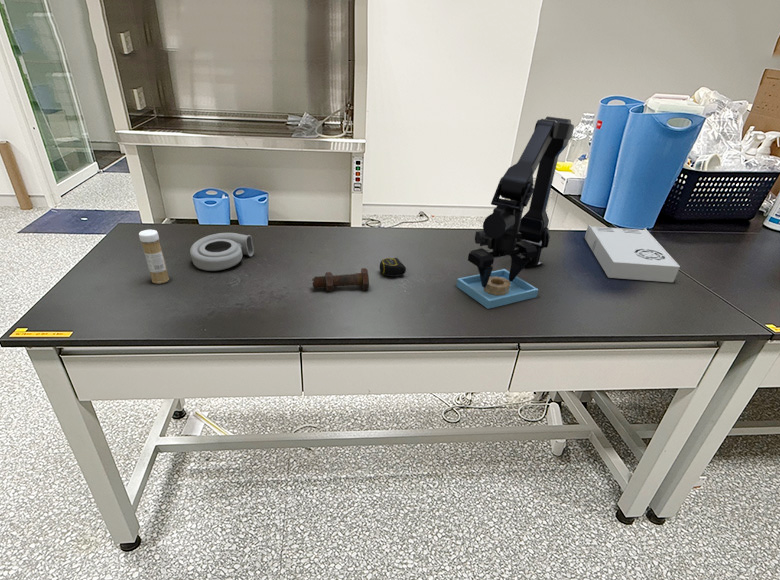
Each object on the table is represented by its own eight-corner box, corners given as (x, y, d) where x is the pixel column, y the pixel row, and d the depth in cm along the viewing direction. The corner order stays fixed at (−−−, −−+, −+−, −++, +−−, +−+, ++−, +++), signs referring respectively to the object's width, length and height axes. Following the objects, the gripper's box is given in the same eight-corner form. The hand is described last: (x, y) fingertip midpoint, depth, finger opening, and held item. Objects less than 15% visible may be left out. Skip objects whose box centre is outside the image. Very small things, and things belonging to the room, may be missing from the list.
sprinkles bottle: (169, 276, 138) (157, 228, 130) (169, 283, 135) (157, 234, 127) (151, 278, 137) (138, 229, 129) (151, 285, 134) (138, 236, 125)
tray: (503, 276, 146) (504, 268, 144) (536, 297, 136) (538, 289, 134) (456, 286, 140) (457, 278, 138) (487, 309, 130) (489, 301, 128)
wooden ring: (497, 282, 141) (499, 274, 140) (513, 292, 136) (515, 284, 135) (478, 286, 139) (479, 278, 137) (494, 297, 134) (495, 289, 132)
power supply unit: (639, 241, 172) (644, 227, 169) (673, 282, 146) (680, 266, 143) (584, 238, 173) (588, 223, 170) (608, 278, 147) (613, 262, 144)
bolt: (313, 294, 136) (367, 290, 138) (313, 293, 132) (369, 289, 133) (311, 272, 136) (366, 269, 137) (311, 270, 131) (367, 266, 132)
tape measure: (406, 277, 143) (407, 265, 141) (383, 280, 141) (384, 267, 139) (398, 268, 148) (399, 255, 146) (376, 270, 146) (376, 257, 144)
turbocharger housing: (182, 270, 144) (226, 280, 140) (176, 249, 140) (221, 258, 136) (217, 246, 156) (258, 254, 152) (213, 226, 152) (255, 234, 147)
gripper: (516, 213, 136) (505, 267, 145) (459, 221, 129) (452, 278, 138) (544, 226, 128) (531, 282, 138) (485, 236, 121) (476, 295, 131)
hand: (497, 284), depth 136 cm, fingers open, 9 cm apart
